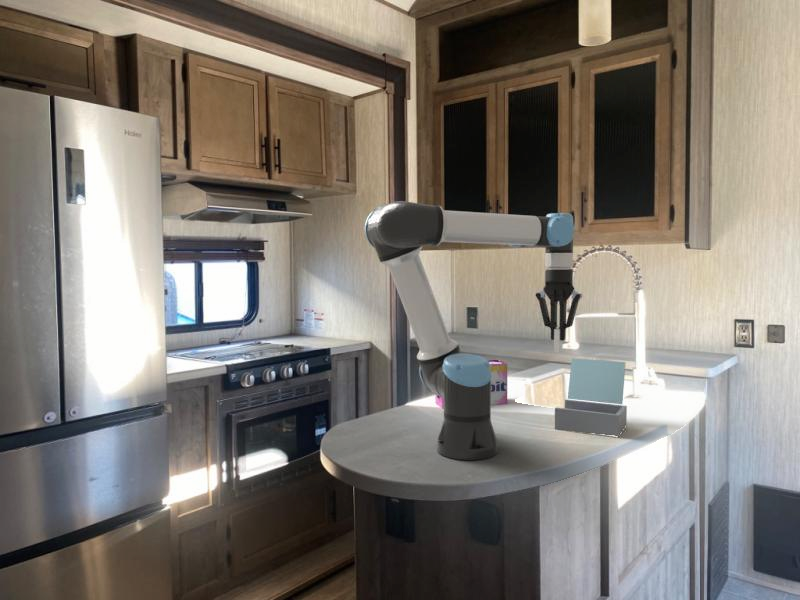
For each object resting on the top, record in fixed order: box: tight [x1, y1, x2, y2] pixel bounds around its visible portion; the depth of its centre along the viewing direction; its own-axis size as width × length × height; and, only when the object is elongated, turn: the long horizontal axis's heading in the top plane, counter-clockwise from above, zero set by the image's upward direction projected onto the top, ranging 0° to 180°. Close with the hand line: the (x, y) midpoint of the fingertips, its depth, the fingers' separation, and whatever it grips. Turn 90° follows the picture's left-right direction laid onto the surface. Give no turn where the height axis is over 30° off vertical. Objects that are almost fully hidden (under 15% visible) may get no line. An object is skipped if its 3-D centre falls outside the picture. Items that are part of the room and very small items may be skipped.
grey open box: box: [554, 398, 628, 436], centre depth 168 cm, size 12×17×6 cm
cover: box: [567, 357, 626, 405], centre depth 175 cm, size 12×15×1 cm
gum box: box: [434, 359, 508, 409], centre depth 198 cm, size 24×8×14 cm, turn 104°
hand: (557, 351), depth 172 cm, fingers closed
